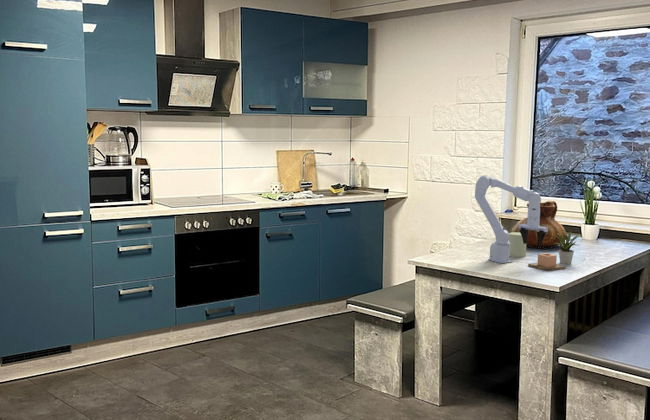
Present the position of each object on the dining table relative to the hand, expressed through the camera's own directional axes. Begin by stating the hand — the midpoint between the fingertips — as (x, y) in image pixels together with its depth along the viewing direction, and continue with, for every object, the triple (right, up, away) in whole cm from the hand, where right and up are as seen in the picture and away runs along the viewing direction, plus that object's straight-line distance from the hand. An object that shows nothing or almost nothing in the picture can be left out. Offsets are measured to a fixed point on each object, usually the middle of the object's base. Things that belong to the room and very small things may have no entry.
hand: (532, 244), depth 323 cm
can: (-1, -7, +21) cm, 22 cm away
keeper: (+5, -11, -8) cm, 14 cm away
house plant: (+18, -10, +2) cm, 20 cm away
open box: (+5, -9, -8) cm, 13 cm away
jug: (+19, -3, +49) cm, 53 cm away
